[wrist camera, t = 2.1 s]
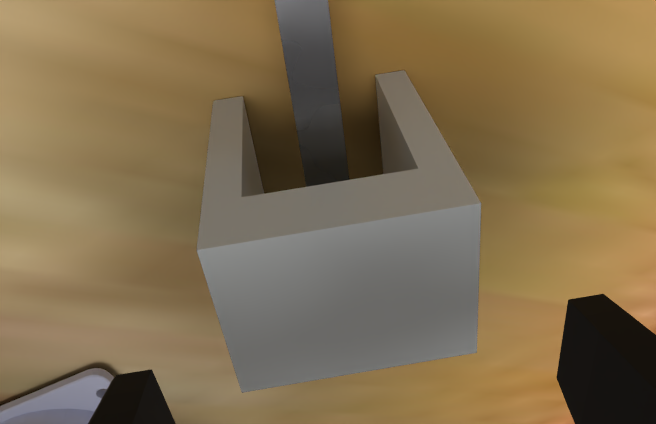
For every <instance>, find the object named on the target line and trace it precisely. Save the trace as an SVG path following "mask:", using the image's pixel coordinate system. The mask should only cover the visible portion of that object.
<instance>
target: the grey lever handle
mask: <svg viewBox="0 0 656 424" xmlns="http://www.w3.org/2000/svg"><path fill="white" fill-rule="evenodd" d="M275 5H276V11H277V17H278V23H279V29H280V35H281V40H282V46H283V52H284V58H285V64H286V70H287V76H288V82H289V88H290V93H291V99H292V105H293V111H294V117H295V123H296V129H297V135H298V140H299V146H300V152H301V158H302V164H303V170H304V176H305V182H306V187H309V186H315V185H321V184H327V183H333V182H339V181H345V180H349V173H348V164H347V156H346V148H345V139H344V131H343V123H342V114H341V106H340V98H339V89H338V81H337V73H336V64H335V56H334V48H333V39H332V31H331V23H330V14H329V6H328V0H275Z"/></svg>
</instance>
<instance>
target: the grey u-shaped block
mask: <svg viewBox="0 0 656 424" xmlns="http://www.w3.org/2000/svg"><path fill="white" fill-rule="evenodd" d="M375 79H376V91H377V103H378V116H379V128H380V140H381V153H382V165H383V174H382V175H376V176H370V177H364V178H357V179H351V180H345V181H339V182H333V183H327V184H321V185H315V186H309V187H302V188H296V189H290V190H284V191H278V192H272V193H266V194H264V190H263V186H262V181H261V177H260V172H259V168H258V163H257V158H256V154H255V149H254V145H253V140H252V136H251V131H250V127H249V122H248V117H247V113H246V108H245V104H244V99H243V96H240V97H234V98H227V99H221V100H215V101H213V107H212V116H211V125H210V134H209V143H208V152H207V161H206V170H205V179H204V188H203V197H202V206H201V215H200V224H199V233H198V242H197V253H198V256H199V259H200V262H201V265H202V269H203V272H204V275H205V278H206V281H207V284H208V288H209V291H210V294H211V297H212V300H213V303H214V306H215V310H216V313H217V316H218V319H219V322H220V325H221V328H222V332H223V335H224V338H225V341H226V344H227V347H228V350H229V354H230V357H231V360H232V363H233V366H234V369H235V373H236V376H237V379H238V382H239V385H240V388H241V391H242V393H243V392H249V391H254V390H260V389H266V388H272V387H278V386H284V385H290V384H296V383H301V382H307V381H313V380H319V379H325V378H331V377H337V376H343V375H348V374H354V373H360V372H366V371H372V370H378V369H384V368H389V367H395V366H401V365H407V364H413V363H419V362H425V361H431V360H436V359H442V358H448V357H454V356H460V355H466V354H472V353H477V327H478V293H479V259H480V225H481V202H480V200H479V199H478V197H477V195H476V193H475V192H474V190H473V188H472V186H471V185H470V183H469V181H468V179H467V178H466V176H465V174H464V173H463V171H462V169H461V167H460V166H459V164H458V162H457V160H456V159H455V157H454V155H453V153H452V152H451V150H450V148H449V147H448V145H447V143H446V141H445V140H444V138H443V136H442V134H441V133H440V131H439V129H438V127H437V126H436V124H435V122H434V121H433V119H432V117H431V115H430V114H429V112H428V110H427V108H426V107H425V105H424V103H423V101H422V100H421V98H420V96H419V95H418V93H417V91H416V89H415V88H414V86H413V84H412V82H411V81H410V79H409V77H408V75H407V74H406V72H405V70H402V71H396V72H390V73H384V74H377V75H375Z"/></svg>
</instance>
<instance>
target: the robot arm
mask: <svg viewBox="0 0 656 424" xmlns="http://www.w3.org/2000/svg"><path fill="white" fill-rule="evenodd" d="M557 380H558V382H559V385H560V388H561V390H562V393H563V395H564V398H565V400H566V403H567V405H568V408H569V410H570V413H571V415H572V417H573V420H574V422H575V424H656V335H655V334H654V333H653V332H651V331H650V330H649V329H647V328H646V327H645V326H644V325H642V324H641V323H640V322H639V321H637V320H636V319H635V318H633V317H632V316H631V315H630V314H628V313H627V312H626V311H625V310H623V309H622V308H621V307H619V306H618V305H617V304H616V303H614V302H613V301H612V300H610V299H609V298H608V297H607V296H605V295H604V294H600V295H594V296H588V297H582V298H576V299H570V300H568V305H567V312H566V319H565V325H564V332H563V339H562V345H561V352H560V359H559V366H558V372H557ZM105 389H107V390H105ZM0 424H175V421H174V419H173V417H172V415H171V412H170V410H169V408H168V405H167V403H166V401H165V399H164V396H163V394H162V392H161V389H160V387H159V385H158V383H157V380H156V378H155V376H154V373H153V371H152V369H151V370H145V371H139V372H133V373H127V374H121V375H116V376H115V377H113V376H112V375H111V374H110V373H109V372H107V371H106V370H104V369H101V368H92V369H88V370H86V371H83V372H81V373H79V374H76V375H74V376H71V377H69V378H67V379H64V380H62V381H59V382H57V383H55V384H52V385H50V386H47V387H45V388H42V389H40V390H38V391H35V392H33V393H30V394H28V395H26V396H23V397H21V398H18V399H16V400H14V401H11V402H9V403H6V404H4V405H2V406H0Z"/></svg>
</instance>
